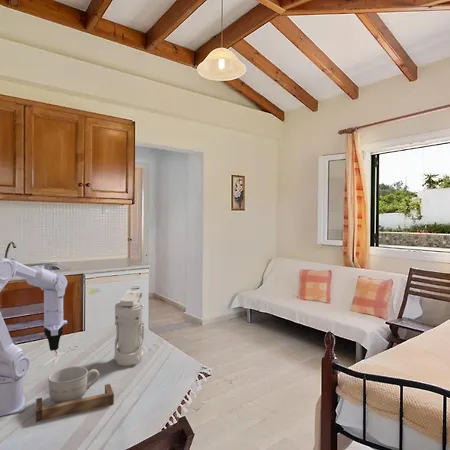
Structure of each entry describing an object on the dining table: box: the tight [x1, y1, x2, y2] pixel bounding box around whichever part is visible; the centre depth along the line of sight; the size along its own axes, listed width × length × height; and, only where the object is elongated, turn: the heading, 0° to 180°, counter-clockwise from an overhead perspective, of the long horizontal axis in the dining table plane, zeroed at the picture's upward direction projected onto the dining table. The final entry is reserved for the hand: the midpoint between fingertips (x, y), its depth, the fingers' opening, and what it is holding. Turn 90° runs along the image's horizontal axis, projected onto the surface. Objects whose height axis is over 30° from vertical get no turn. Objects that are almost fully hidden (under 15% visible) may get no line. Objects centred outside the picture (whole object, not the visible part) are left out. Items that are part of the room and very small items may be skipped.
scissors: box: [42, 345, 80, 367], centre depth 135 cm, size 11×1×20 cm
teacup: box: [47, 365, 100, 404], centre depth 106 cm, size 14×11×8 cm
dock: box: [35, 383, 115, 423], centre depth 102 cm, size 20×7×3 cm, turn 117°
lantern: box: [113, 288, 145, 367], centre depth 133 cm, size 13×10×25 cm
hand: (53, 349), depth 118 cm, fingers closed
